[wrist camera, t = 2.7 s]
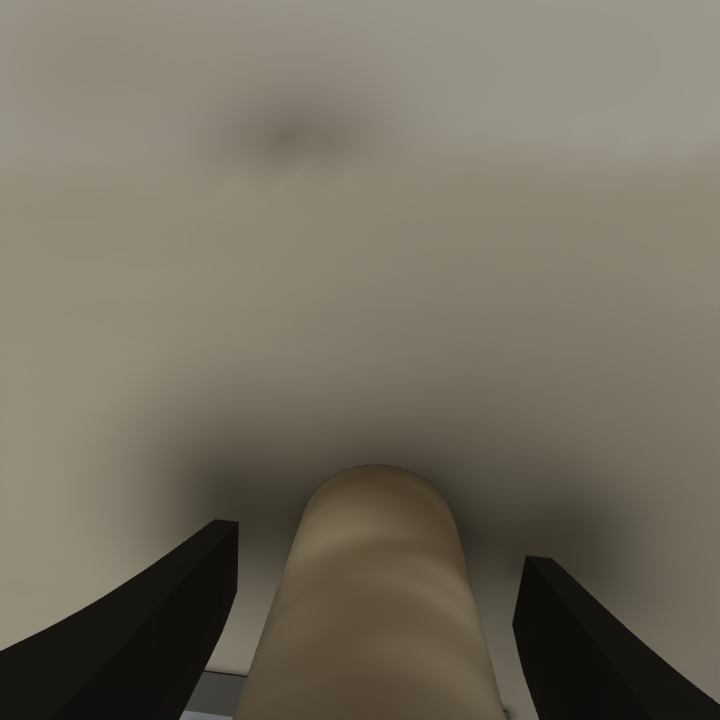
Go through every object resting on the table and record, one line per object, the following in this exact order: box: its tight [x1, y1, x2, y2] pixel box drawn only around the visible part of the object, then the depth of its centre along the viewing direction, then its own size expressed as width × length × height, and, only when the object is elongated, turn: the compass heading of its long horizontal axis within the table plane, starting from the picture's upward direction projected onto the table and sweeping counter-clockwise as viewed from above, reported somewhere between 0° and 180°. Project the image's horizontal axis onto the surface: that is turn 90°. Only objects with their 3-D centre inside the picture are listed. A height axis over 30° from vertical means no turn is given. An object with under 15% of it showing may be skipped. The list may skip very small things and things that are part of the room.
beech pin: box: [232, 465, 506, 720], centre depth 9 cm, size 4×4×6 cm
